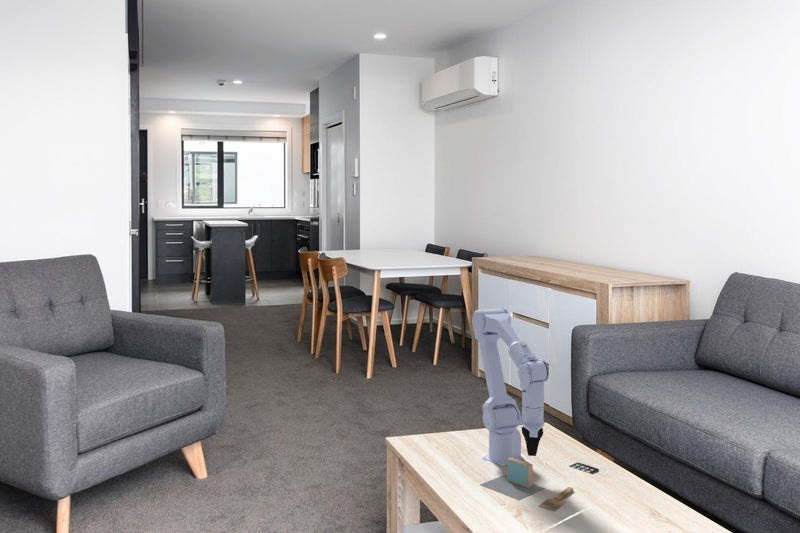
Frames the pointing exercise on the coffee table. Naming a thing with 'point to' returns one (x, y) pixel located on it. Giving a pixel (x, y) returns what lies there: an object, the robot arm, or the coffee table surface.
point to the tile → (519, 472)
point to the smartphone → (584, 468)
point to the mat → (511, 488)
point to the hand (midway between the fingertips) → (531, 454)
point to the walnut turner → (556, 500)
